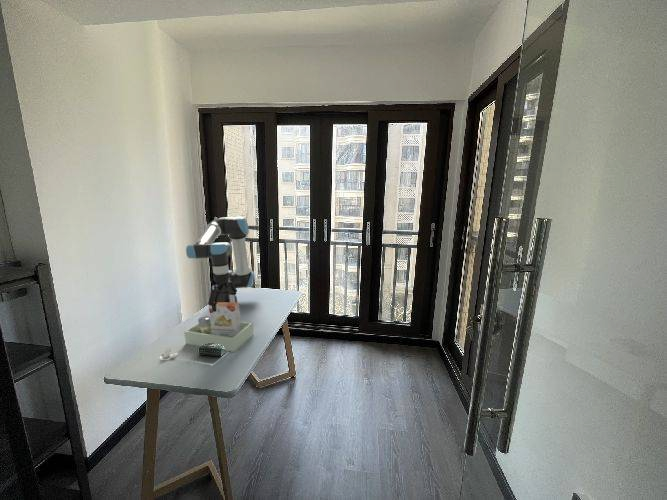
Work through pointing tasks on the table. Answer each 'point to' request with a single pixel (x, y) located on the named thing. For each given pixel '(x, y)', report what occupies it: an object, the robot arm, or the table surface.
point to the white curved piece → (168, 354)
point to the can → (205, 325)
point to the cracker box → (226, 319)
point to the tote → (219, 337)
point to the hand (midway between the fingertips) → (224, 311)
